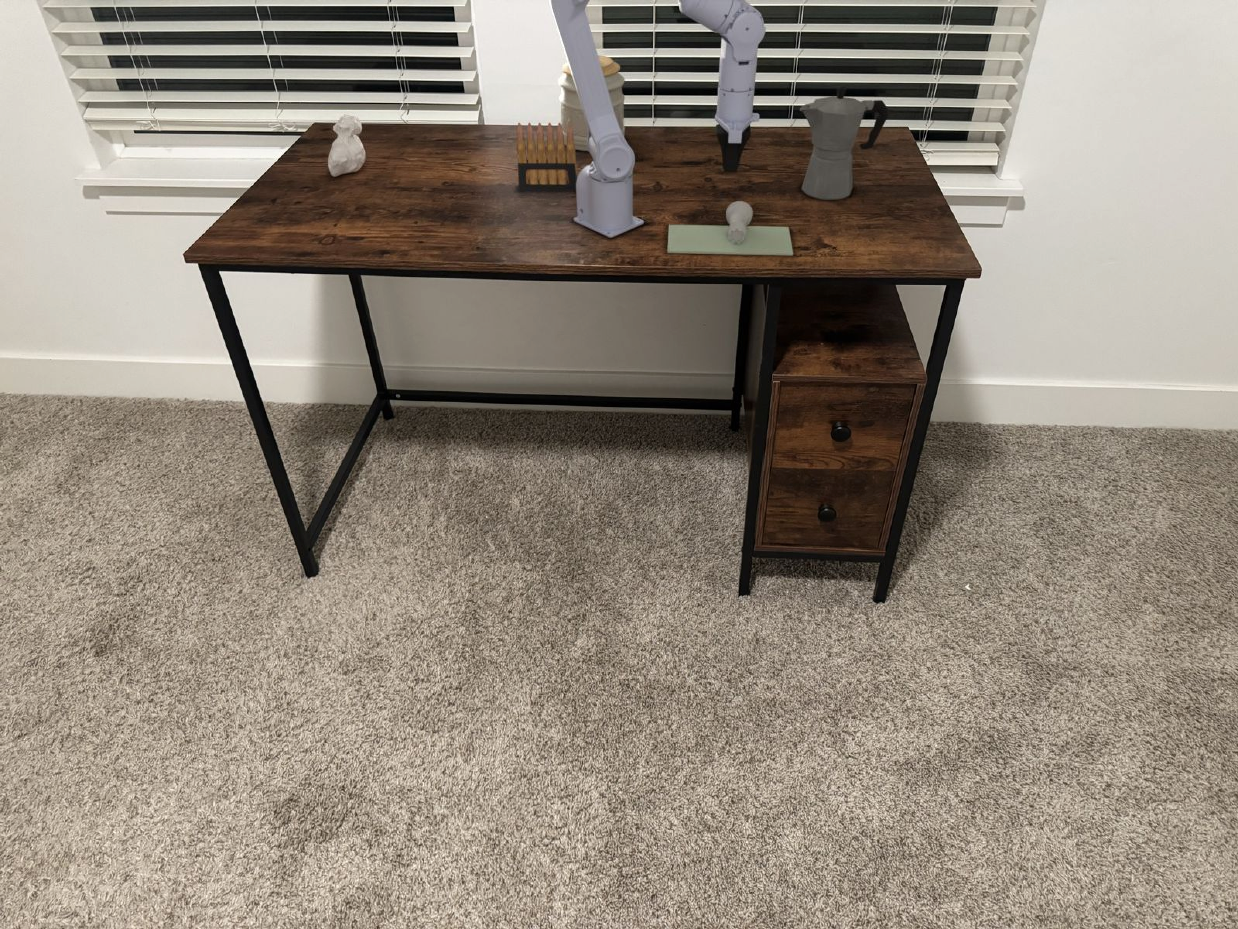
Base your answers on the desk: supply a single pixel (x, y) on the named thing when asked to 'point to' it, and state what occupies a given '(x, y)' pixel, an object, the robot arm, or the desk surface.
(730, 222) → the rook chess piece
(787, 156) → the desk surface
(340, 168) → the white tied sack
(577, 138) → the jar
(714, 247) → the mat
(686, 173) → the desk surface
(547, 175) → the ammunition clip
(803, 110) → the coffeepot
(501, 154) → the desk surface
